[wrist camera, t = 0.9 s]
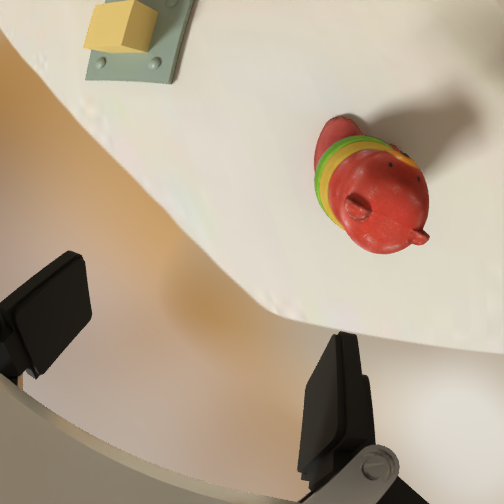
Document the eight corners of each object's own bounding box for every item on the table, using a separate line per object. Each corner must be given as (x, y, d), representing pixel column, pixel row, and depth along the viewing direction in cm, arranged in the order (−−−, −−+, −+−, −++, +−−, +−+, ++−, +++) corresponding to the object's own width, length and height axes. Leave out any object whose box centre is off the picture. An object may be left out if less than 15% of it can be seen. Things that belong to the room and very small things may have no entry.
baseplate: (111, -4, 26) (106, -6, 24) (197, -11, 25) (194, -14, 24) (89, 80, 32) (83, 80, 31) (171, 84, 31) (166, 83, 30)
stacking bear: (410, 156, 30) (490, 194, 14) (370, 225, 35) (412, 310, 19) (332, 110, 30) (358, 99, 14) (294, 184, 34) (281, 245, 19)
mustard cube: (121, 14, 26) (95, 5, 21) (158, 12, 26) (134, -1, 21) (111, 53, 29) (83, 48, 24) (147, 52, 29) (121, 45, 23)
